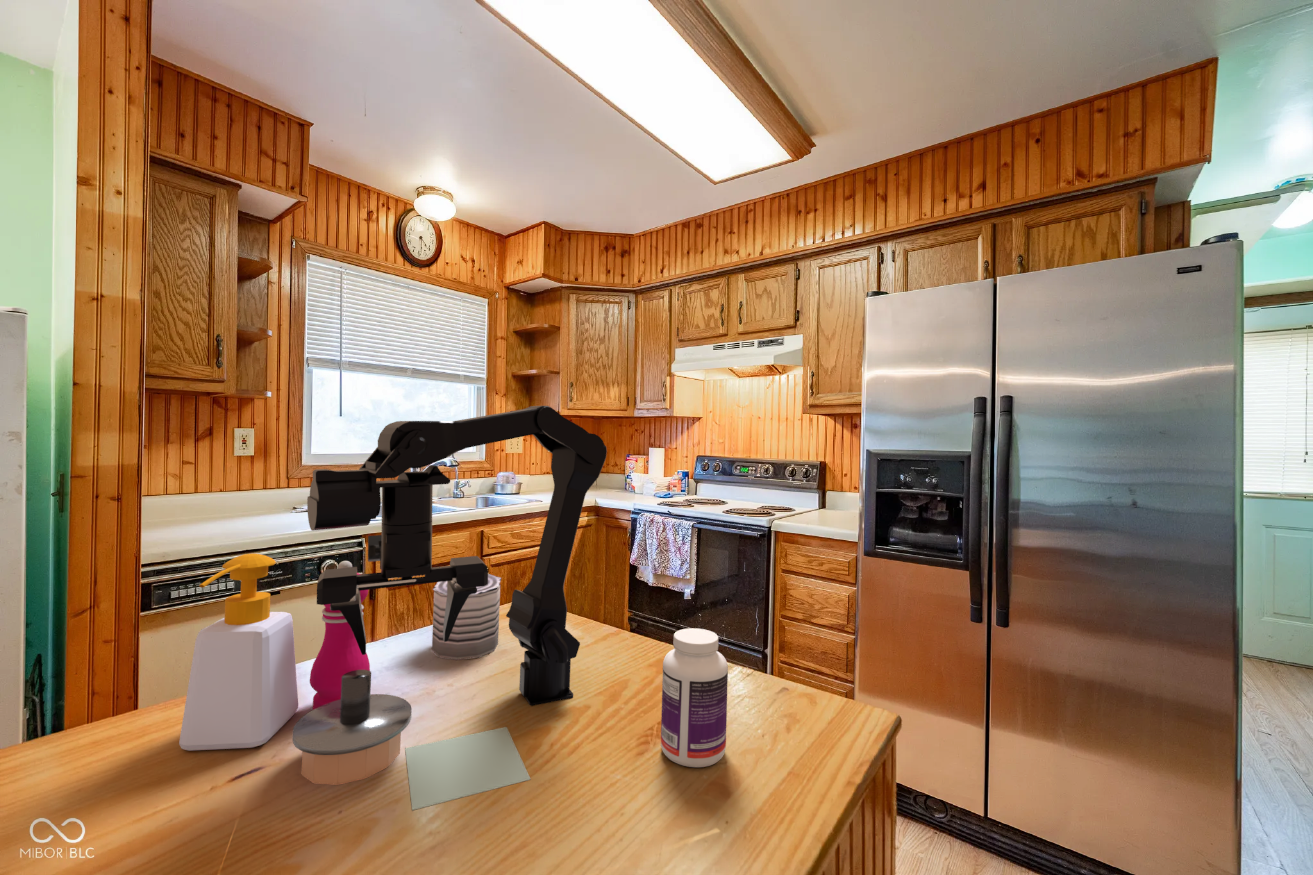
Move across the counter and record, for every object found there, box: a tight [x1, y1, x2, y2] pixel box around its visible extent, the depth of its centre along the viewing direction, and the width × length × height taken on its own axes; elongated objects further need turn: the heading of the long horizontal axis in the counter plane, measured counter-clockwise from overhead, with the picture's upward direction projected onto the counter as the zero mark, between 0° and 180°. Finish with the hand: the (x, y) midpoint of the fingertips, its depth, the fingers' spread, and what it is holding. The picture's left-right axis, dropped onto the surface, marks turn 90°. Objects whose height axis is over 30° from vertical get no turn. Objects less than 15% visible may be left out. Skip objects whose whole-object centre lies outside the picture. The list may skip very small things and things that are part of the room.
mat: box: [404, 726, 531, 812], centre depth 63 cm, size 12×12×1 cm
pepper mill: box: [309, 560, 371, 710], centre depth 75 cm, size 7×7×20 cm
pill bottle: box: [660, 627, 729, 768], centre depth 67 cm, size 8×8×14 cm
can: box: [431, 573, 502, 661], centre depth 97 cm, size 11×11×12 cm
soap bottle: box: [178, 552, 299, 751], centre depth 66 cm, size 10×14×22 cm
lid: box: [292, 670, 413, 755], centre depth 63 cm, size 12×12×6 cm
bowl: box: [300, 732, 402, 786], centre depth 63 cm, size 10×10×4 cm
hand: (406, 646), depth 68 cm, fingers open, 9 cm apart
